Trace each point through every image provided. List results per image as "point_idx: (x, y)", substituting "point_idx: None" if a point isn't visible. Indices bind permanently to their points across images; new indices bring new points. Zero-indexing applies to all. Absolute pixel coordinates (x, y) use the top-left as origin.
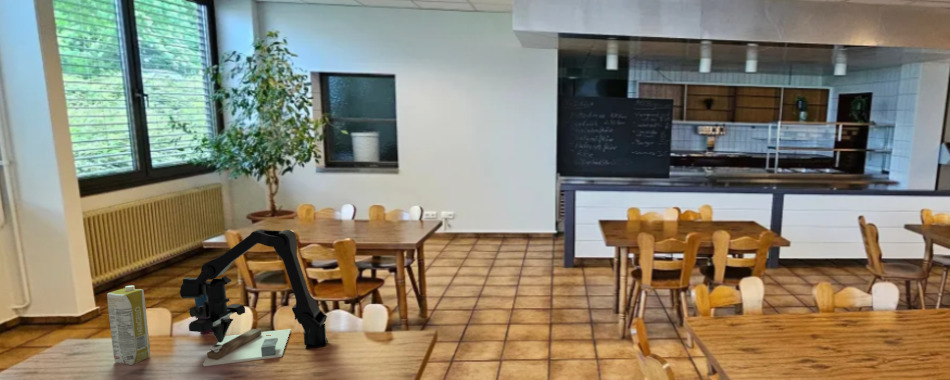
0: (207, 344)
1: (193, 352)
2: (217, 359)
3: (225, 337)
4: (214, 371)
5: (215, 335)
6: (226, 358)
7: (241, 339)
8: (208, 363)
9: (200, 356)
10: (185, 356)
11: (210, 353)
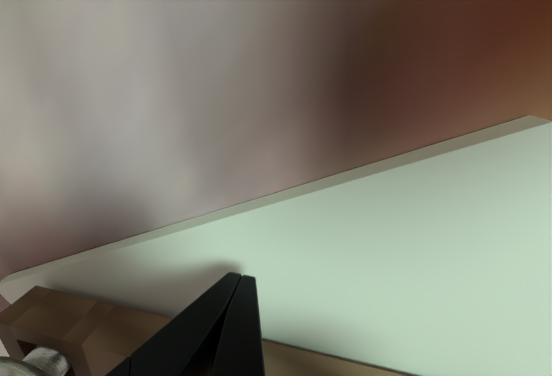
0: (334, 33)
1: (109, 28)
2: None
3: (487, 194)
4: None
5: (152, 347)
6: None
7: None
8: None
9: (83, 171)
10: (14, 12)
11: (6, 339)
